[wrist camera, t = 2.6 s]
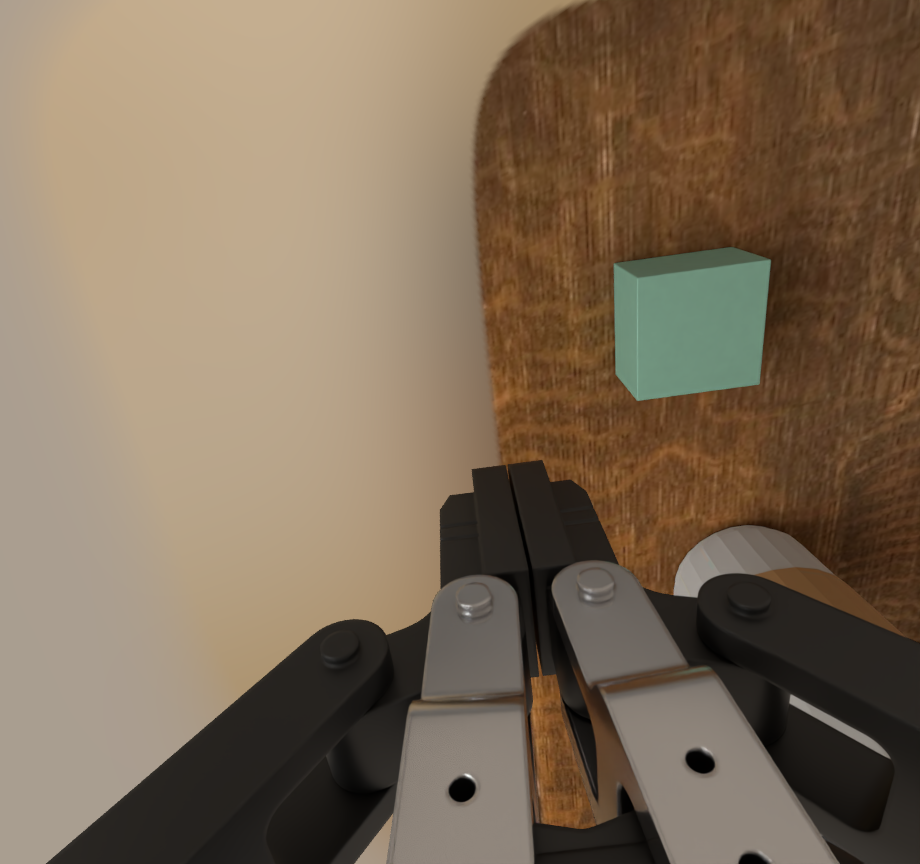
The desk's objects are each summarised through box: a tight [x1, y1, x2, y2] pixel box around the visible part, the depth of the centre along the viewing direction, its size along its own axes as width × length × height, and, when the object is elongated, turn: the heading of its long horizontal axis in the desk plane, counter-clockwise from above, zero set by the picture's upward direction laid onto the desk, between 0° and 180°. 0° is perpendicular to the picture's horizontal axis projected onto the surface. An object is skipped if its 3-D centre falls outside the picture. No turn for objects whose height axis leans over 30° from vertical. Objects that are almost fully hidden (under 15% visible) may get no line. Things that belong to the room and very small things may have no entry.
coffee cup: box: [674, 525, 907, 853], centre depth 22 cm, size 8×8×15 cm
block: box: [614, 247, 771, 401], centre depth 22 cm, size 4×4×3 cm
